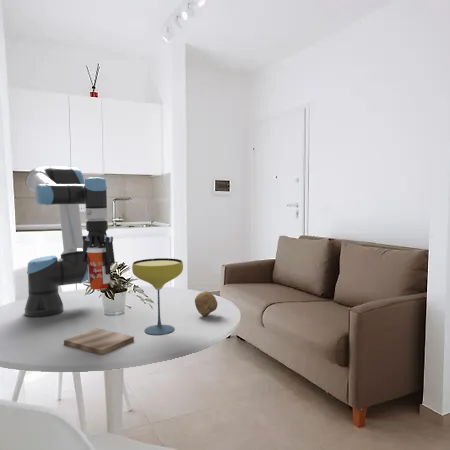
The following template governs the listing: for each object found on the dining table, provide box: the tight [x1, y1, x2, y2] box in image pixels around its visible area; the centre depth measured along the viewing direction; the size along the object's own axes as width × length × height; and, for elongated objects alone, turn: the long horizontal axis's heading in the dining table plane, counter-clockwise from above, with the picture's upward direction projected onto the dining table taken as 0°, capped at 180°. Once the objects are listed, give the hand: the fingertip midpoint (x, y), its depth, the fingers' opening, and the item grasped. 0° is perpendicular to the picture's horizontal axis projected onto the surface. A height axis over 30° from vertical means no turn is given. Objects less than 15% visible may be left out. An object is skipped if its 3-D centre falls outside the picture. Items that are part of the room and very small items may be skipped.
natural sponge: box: [194, 291, 218, 317], centre depth 166 cm, size 9×9×10 cm
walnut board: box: [63, 327, 135, 356], centre depth 137 cm, size 18×14×2 cm
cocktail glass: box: [131, 257, 184, 336], centre depth 149 cm, size 18×18×25 cm
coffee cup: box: [86, 246, 109, 290], centre depth 151 cm, size 8×8×15 cm
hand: (99, 282), depth 152 cm, fingers closed on coffee cup, 7 cm apart
